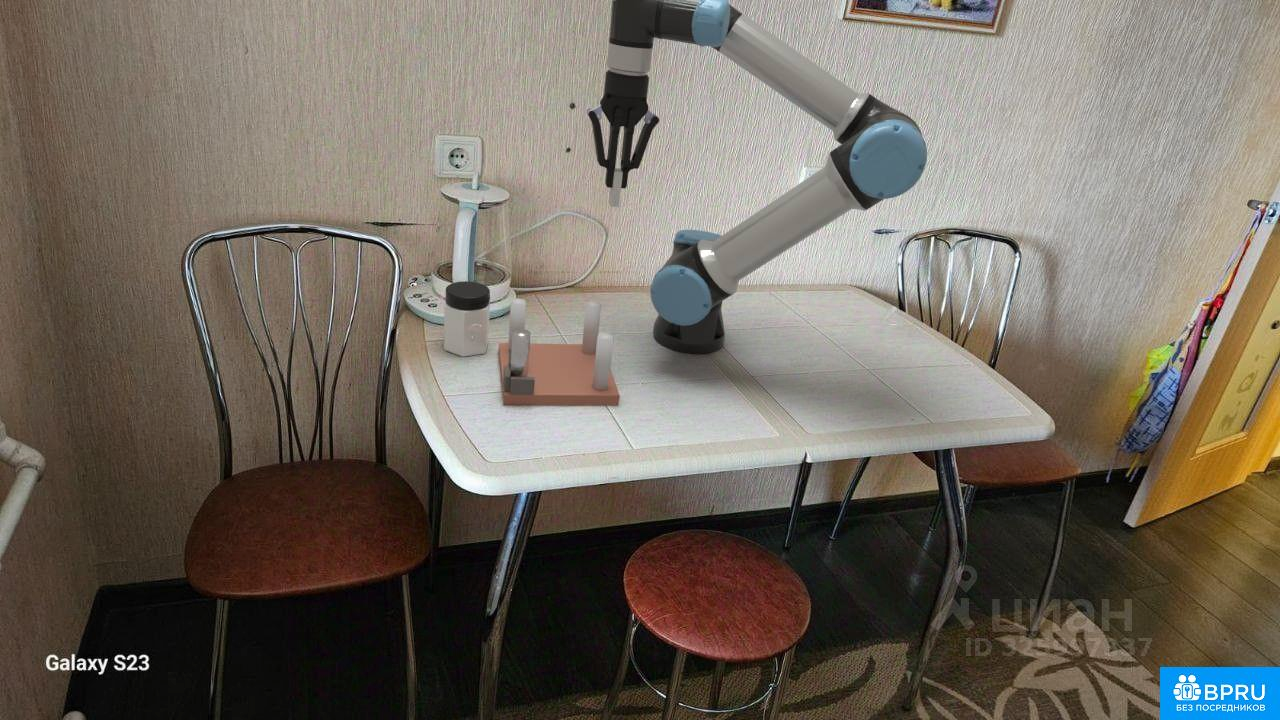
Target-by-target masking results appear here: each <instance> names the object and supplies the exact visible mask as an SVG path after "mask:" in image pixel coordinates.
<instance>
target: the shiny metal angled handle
mask: <svg viewBox="0 0 1280 720" xmlns="http://www.w3.org/2000/svg"><path fill="white" fill-rule="evenodd" d="M530 343H531V331H530V330H527V329H526V328H525V329H516V330H514V331H513V332H512V349H511V350H509V361H508V366H509V368H510V369H511V370H510V381H511V377H528V364H529V349H530Z"/></svg>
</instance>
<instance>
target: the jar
mask: <svg viewBox="0 0 1280 720" xmlns="http://www.w3.org/2000/svg"><path fill="white" fill-rule="evenodd" d="M444 299H445V303H444V306H443V307H444V315H443V316H444V317H443V318H444V319H443V320H444V321H443V324H444V327H443V330H444V331H443V333H444V334H443V349H444V350H445V351H446V352H449V353H450V354H451V353H452V354H455V355H458V356H460V357H462V358H464V357H471V356H472V357H473V356H476V355H482V354H483V355H484V354H486V352H487V348H488V345H489V335H490V312H491V311H490V307H491V306H490V305H491V290H490V288H489V286H486V285H485V284H483V283H480V282H476V281H456V282H453V283H450V284H448V285H447V286H446V287H445V298H444Z"/></svg>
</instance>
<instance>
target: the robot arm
mask: <svg viewBox="0 0 1280 720" xmlns="http://www.w3.org/2000/svg"><path fill="white" fill-rule="evenodd" d="M610 17H611V18H610V28H609V39H608V50H607V59H606V67H607V68H608V70H607V71H606V72H605V78H604V79H605V80H604V88H603V95H602V98H601V100H600V103H599V104H598V105H597V106H596V107H594V108H588V109H587V111H586V114H587V116H588V118H589V120H590V122H591V126H592V133H593V141H594V147H595V154H596V161H597V163H598V165H599V166H600V167H603V168H605V169H606V171H605V181H604V183H605V186H606V188H608V189H609V195H608V204H609V206H610V207H611V208H620V202H621V201H620V200H621V192H622V191H621V190H622V189H624V190H625V189H627V187H628V180H629V179H628V178H629V172H630V171H632V170H636V169H637V170H638V169H639V168H640V166H641V163H642V161H643V160H642V159H643V157H644V154H645V151H646V149H647V147H648V144H649V141H650V138H651V135H652V132H653V130H654V129H655V128H656V126H657V125H658V124H659V122H660V117H659V116H657V115H656V114H655V113H652V112H651V111H650V109H649V105H648V101H647V98H648V91H649V82H650V77H649V75H648V74H647V73H649V72H650V71H651V66H652V58H653V56H652V54H653V47H654V40H655V39H660V40H668V41H671V42H672V41H673V42H678V43H684V44H689V45H690V44H691V45H698V47H701V48H703V47H711V48H713V49H714V50H716V51H717V52H719V53H720V54H722V55H723V56H725V57H726V58H727V59H729V60H730V61H732V62H733V63H735V65H737V66H739V67H740V68H742V69H743V70H745V71H746V72H747V73H749V74H750V75H752V76H754V78H756V79H757V80H759V81H760V82H762V83H764V84H765V85H766V86H768V87H769V88H771V89H772V90H773V91H775V92H776V93H777V94H779V95H780V96H782V97H783V98H784V99H786V100H788V101H789V102H791V104H794V105H795V106H797V108H799V109H800V110H802V111H803V112H805V113H806V114H808V115H809V116H810V117H812V118H813V119H815V120H816V121H818V122H819V123H820V124H822V125H824V126H825V127H826V128H828V129H829V130H831V131H832V133H833V138H834V141H836V142H838V143H839V144H840V145H838V146H836V148H834V149H833V150H831V151H830V152H828V154H827V155H828V156H827V158H826V162H825V166H824V167H822V168H820V169H819V170H817V171H816V172H815V173H813V174H811V175H810V176H809V177H807V178H805V179H804V180H803V181H801V182H800V183H798V184H797V185H795V186H794V187H792V188H791V189H789V190H788V191H786V192H785V193H784V194H782V195H781V196H779V197H778V198H776V199H775V200H773V201H771V202H770V203H768V204H767V205H765V206H764V207H762V208H761V209H760V210H758V211H757V212H756V213H754V214H752V215H751V216H749V217H747V218H746V219H745V220H743V221H742V222H741V223H739V224H737V225H736V226H734V227H733V228H732V229H729V231H727V232H726V233H724V234H722V235H721V234H720V233H719V234H718V233H714V232H709V231H704V230H697V229H681V230H678V231H676V234H675V237H674V240H673V241H672V244H673V249H672V254H671V255H670V257H669V258H668V259H667V261H666V262H665V263H664V264H663V266H662V267H661V268H660V269H659V270H657V272H656V274H655V275H654V277H653V279H652V283H651V286H650V294H649V295H650V301H651V303H652V306H653V308H654V309H655V311H656V312H657V317H656V319H655V321H654V322H653V329H652V335H653V338H654V340H655V341H657V342H658V343H659V344H660V345H662V346H664V347H666V348H669V349H671V350H672V351H673V350H674V351H677V352H681V353H685V354H686V353H687V354H708V353H714V352H717V351H718V350H720V349H722V347H723V346H724V344H725V343H724V342H725V339H726V338H725V337H726V330H725V325H724V318H723V311H722V306H723V301H725V300H726V299H728V298H729V297H731V296H732V295H734V294H736V292H737V290H738V286H739V282H740V281H741V280H743V279H745V278H746V277H747V276H748V275H750V274H752V273H754V272H755V271H757V270H758V269H760V268H761V267H763V266H765V265H766V264H767V263H769V262H771V261H772V260H774V259H776V258H777V257H779V256H781V254H782V255H783V253H785V252H786V251H788V250H790V249H792V248H793V247H795V246H796V245H798V244H799V243H800V242H802V241H804V240H805V239H807V238H809V237H810V236H811V235H814V234H816V232H818V231H819V230H821V229H823V228H824V227H826V226H828V225H829V224H831V223H832V222H834V221H835V220H837V219H839V218H840V217H842V216H844V214H846V213H848V212H850V211H851V210H860V211H864V212H867V210H869V209H871V208H872V207H873V206H876V205H877V204H879V203H880V202H882V201H884V200H888V199H893V198H896V197H899V196H901V195H904V194H905V193H907V192H908V191H910V190H911V189H912V188H914V187H915V186H916V184H917V183H918V182H919V180H920V178H921V177H922V174H923V173H924V171H925V167H926V164H927V162H928V161H927V159H928V150H927V144H926V141H925V139H924V136H923V134H922V131H921V129H920V127H919V125H918V123H916V121H915V120H914V119H913V118H911V117H910V116H909V115H907V114H905V113H903V112H902V111H900V110H898V109H896V108H894V107H892V106H890V105H889V104H886V103H885V102H883V101H881V100H880V99H878V98H876V97H875V96H874V95H872V94H870V92H864V93H858V92H857V91H855V90H854V89H852V88H851V87H849V86H848V85H847V84H845V83H844V82H843V81H841V80H840V79H838V78H837V77H835V76H833V75H832V74H830V73H829V72H828V71H826V69H823V68H822V67H821V66H819V65H817V64H816V63H815V62H814V61H812V60H810V59H809V58H807V57H806V56H805V55H803V54H802V53H800V51H798V50H796V49H795V48H793V47H792V46H791V45H789V44H787V43H786V42H785V41H783V40H782V39H780V38H779V37H777V36H776V35H775V34H773V33H771V32H770V31H768V29H765V28H764V27H763V26H762V25H760V24H759V23H757V22H756V21H754V20H753V19H751V18H750V17H748V15H745V14H744V13H742V12H741V11H740V10H738V9H737V8H736V7H734V6H732V5H731V4H730V1H728V0H611V16H610ZM602 113H603V114H604V115H605V117H606V119H607V121H608V123H609V135H608V136H609V138H608V146H607V156H606V155H605V148H604V147H605V146H604V141H603V133H602V132H603V131H602V127H601V122H600V121H601V119H602ZM642 119H643V122H644V123H643V126H642V129H641V131H640V133H639V137H638V139H637V143H636V145H635V148H634V150H633V154H632V148H633V147H632V146H633V140H634V139H633V138H634V133H635V127H636V126H637V125H638V124H639V122H640V121H641V120H642ZM622 127H623V138H622V147H621V158H620V168H619V167H616V166H617V165H616V164H617V154H618V147H619V146H618V145H619V136H620V132H621V128H622ZM605 156H606V157H605Z"/></svg>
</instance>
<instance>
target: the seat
mask: <svg viewBox="0 0 1280 720" xmlns="http://www.w3.org/2000/svg"><path fill="white" fill-rule="evenodd" d="M526 309H527V300H525V299H523V298H517V297H516V298H515V297H514V298H512V299H511V300H510V310H509V311H510V312H509V330H508V342H498V358H499V359H498V361H499V370H500V381H501V390H502V400H503V406H619V403H620V392H619V390H618V386H617V383H616V381H615V379H614V375H613V372H612V370H611V367H612V366H611V365H612V356H613V348H614V338H615V336H614V335H613V334H611V333H609V332H600V333H599V330H600V329H599V328H600V321H601V320H600V319H601V311H602V303H601V302H599V301H598V300H588V301H587V302H586V303H585V313H584V322H583V323H584V324H583V325H584V326H583V332H582V333H583V334H582V335H583V336H582V344H581V343H577V344H576V343H575V344H574V343H531V342H530V349H529V364H528V377H511V381H510V370H511V369H510V368H509V366H508V361H509V350H511V349H512V332H513V331H514V330H516V329H525V330H526V327H525V326H526V325H525V324H526V312H527V310H526Z"/></svg>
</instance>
